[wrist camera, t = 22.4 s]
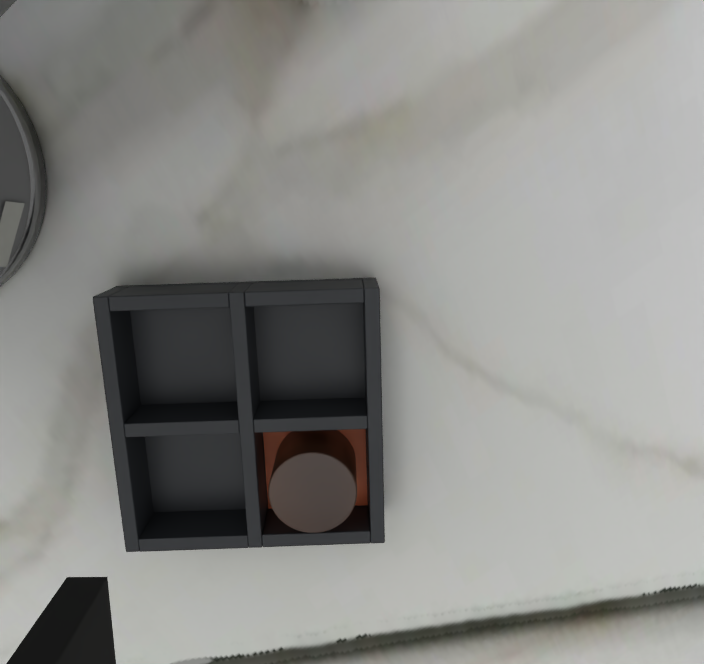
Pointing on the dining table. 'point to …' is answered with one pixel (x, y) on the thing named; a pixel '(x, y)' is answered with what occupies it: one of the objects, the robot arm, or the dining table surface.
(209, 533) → the grid
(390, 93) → the dining table surface
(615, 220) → the dining table surface
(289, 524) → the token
